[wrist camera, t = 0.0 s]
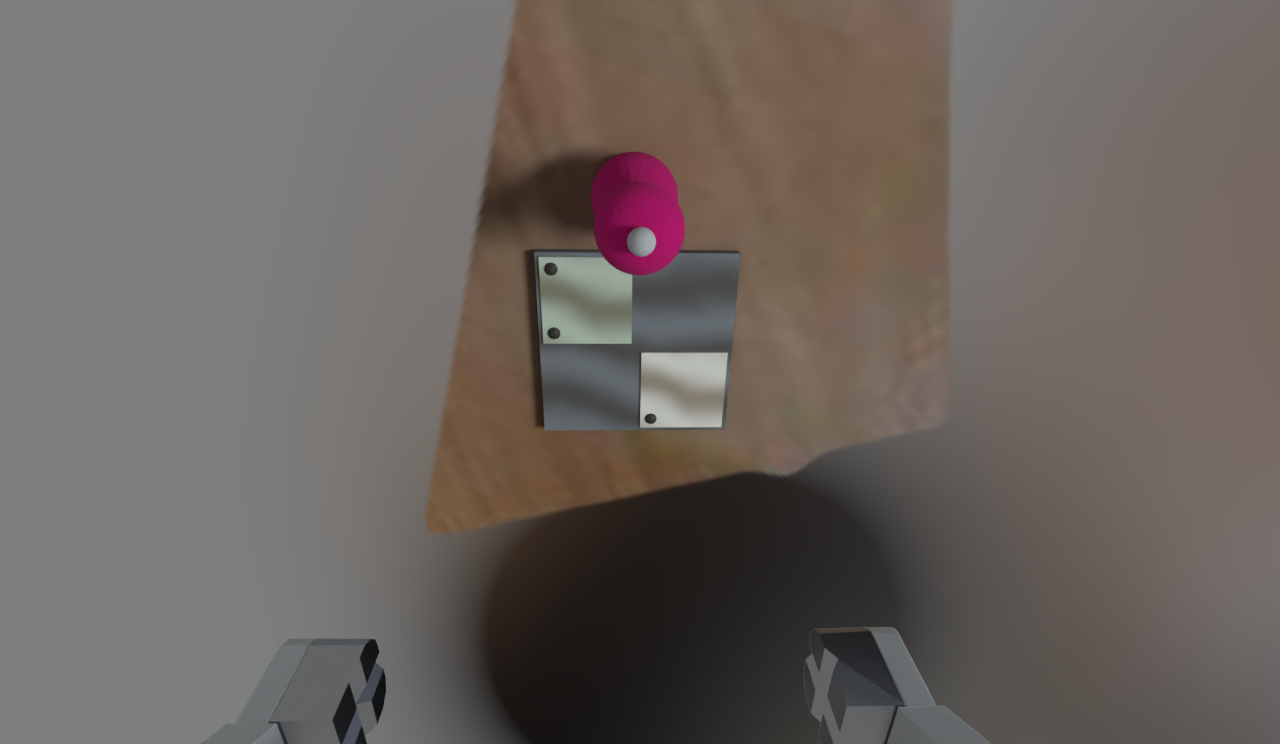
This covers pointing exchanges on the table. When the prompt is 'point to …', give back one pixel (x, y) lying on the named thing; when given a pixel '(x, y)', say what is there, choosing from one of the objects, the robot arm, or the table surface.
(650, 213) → the pepper mill
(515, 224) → the table surface
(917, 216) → the table surface
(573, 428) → the tile board
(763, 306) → the table surface
